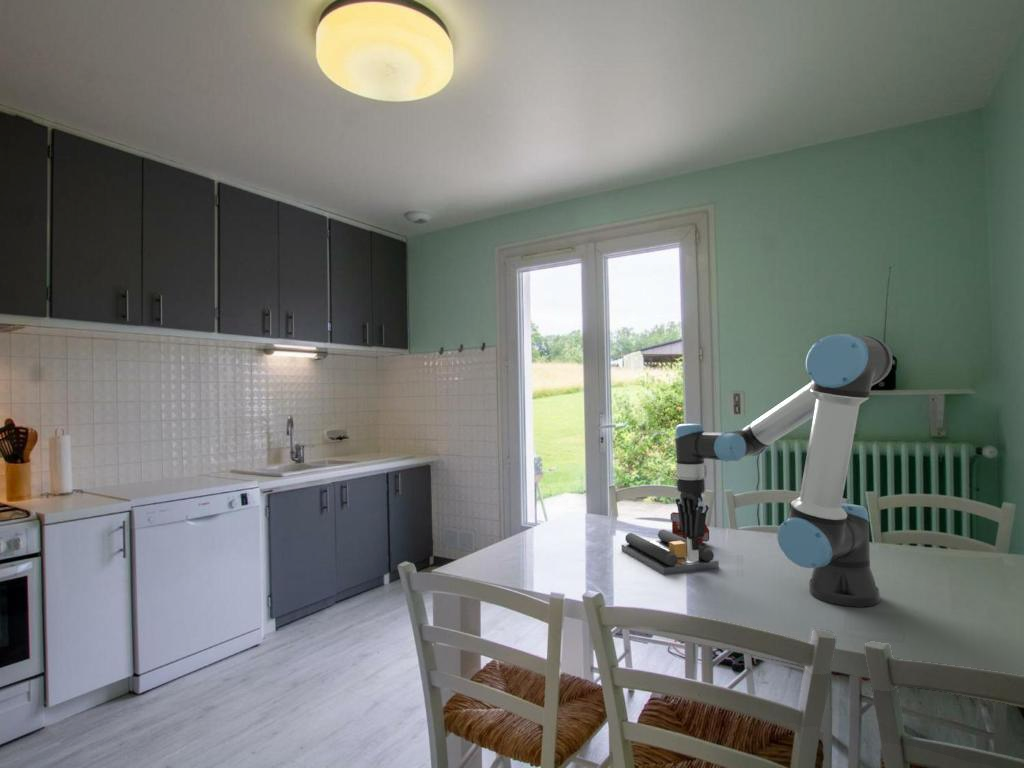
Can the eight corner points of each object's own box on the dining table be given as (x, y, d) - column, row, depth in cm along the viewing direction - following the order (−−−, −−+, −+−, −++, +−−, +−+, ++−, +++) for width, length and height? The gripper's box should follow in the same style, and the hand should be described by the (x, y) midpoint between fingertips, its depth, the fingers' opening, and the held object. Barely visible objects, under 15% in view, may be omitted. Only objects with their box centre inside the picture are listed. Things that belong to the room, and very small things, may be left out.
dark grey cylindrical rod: (716, 562, 162) (716, 549, 162) (705, 563, 161) (705, 551, 161) (665, 538, 188) (665, 528, 188) (656, 539, 187) (655, 529, 187)
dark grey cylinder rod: (680, 566, 158) (679, 554, 159) (669, 568, 158) (668, 555, 158) (633, 542, 185) (633, 531, 185) (623, 543, 184) (623, 532, 184)
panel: (718, 567, 163) (718, 560, 163) (664, 575, 158) (663, 567, 158) (670, 544, 188) (669, 538, 188) (621, 550, 183) (621, 543, 183)
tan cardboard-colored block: (686, 556, 166) (686, 543, 166) (674, 558, 165) (674, 544, 165) (680, 553, 169) (680, 540, 169) (669, 555, 168) (668, 541, 168)
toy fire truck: (708, 548, 183) (707, 516, 183) (669, 544, 188) (668, 513, 189) (710, 543, 189) (709, 512, 189) (673, 539, 195) (672, 509, 195)
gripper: (716, 480, 155) (718, 565, 154) (688, 473, 167) (691, 552, 167) (692, 482, 153) (695, 568, 152) (666, 475, 165) (669, 555, 165)
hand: (693, 560), depth 160 cm, fingers closed
